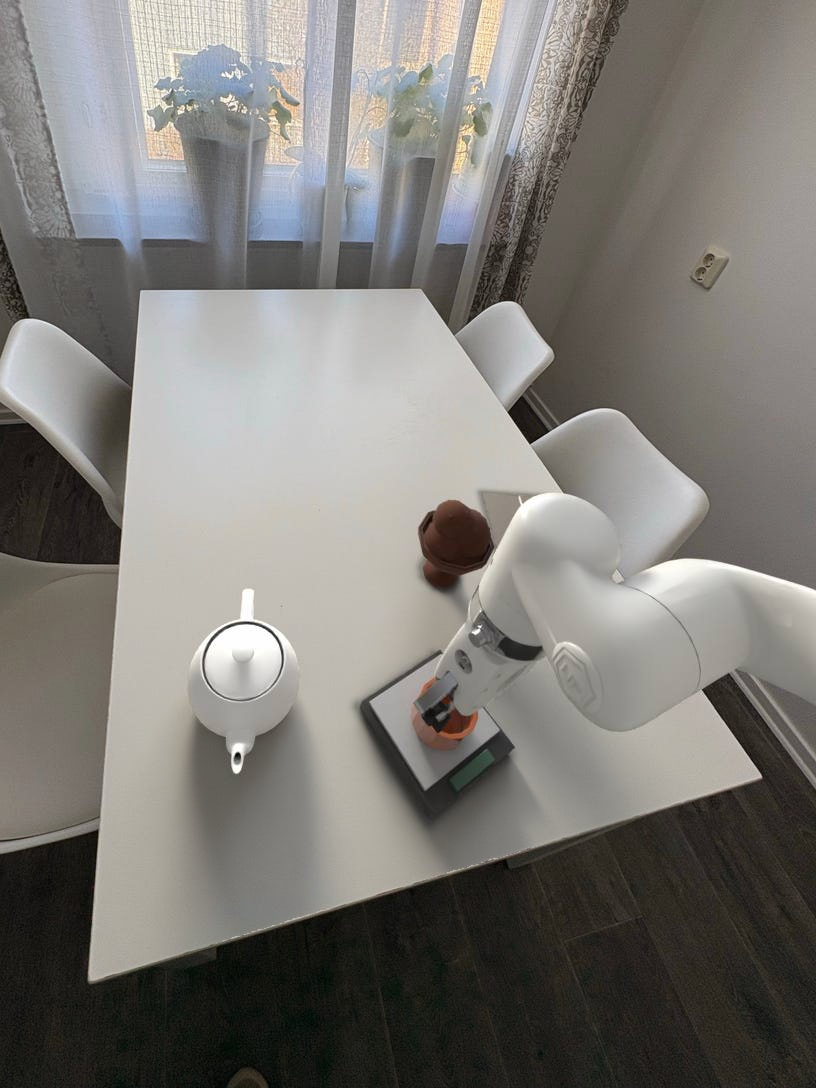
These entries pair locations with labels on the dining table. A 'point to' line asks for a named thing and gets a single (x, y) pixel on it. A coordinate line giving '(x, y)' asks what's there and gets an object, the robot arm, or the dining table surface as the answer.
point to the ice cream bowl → (453, 542)
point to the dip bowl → (452, 732)
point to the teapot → (243, 680)
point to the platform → (502, 511)
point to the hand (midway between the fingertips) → (464, 693)
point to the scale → (421, 765)
